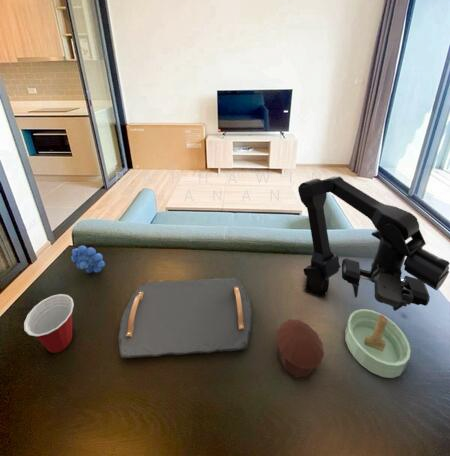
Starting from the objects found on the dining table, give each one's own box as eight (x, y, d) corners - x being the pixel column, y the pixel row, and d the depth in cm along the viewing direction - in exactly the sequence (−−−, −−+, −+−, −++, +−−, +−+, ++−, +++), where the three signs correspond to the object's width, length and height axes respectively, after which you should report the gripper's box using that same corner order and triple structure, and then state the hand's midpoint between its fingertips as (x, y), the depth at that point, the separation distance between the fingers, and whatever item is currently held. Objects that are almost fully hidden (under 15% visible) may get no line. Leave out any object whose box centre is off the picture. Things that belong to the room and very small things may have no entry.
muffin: (265, 352, 66) (268, 327, 62) (291, 327, 72) (295, 303, 68) (302, 397, 57) (308, 371, 53) (328, 364, 63) (335, 339, 60)
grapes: (68, 281, 87) (60, 254, 82) (79, 266, 93) (72, 241, 89) (100, 282, 86) (94, 255, 82) (109, 267, 93) (104, 241, 88)
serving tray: (245, 282, 86) (246, 269, 84) (258, 355, 65) (259, 340, 63) (134, 288, 84) (131, 275, 82) (108, 366, 62) (104, 351, 60)
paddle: (364, 346, 67) (373, 318, 63) (364, 339, 68) (372, 311, 64) (383, 353, 65) (393, 325, 61) (382, 346, 67) (392, 318, 63)
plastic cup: (32, 373, 61) (18, 342, 57) (39, 333, 70) (28, 304, 66) (82, 351, 66) (72, 321, 61) (83, 317, 75) (74, 288, 70)
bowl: (345, 363, 63) (349, 349, 61) (344, 315, 76) (347, 302, 74) (410, 390, 58) (417, 376, 56) (398, 333, 70) (403, 320, 68)
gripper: (348, 269, 57) (336, 315, 63) (448, 299, 50) (424, 347, 56) (347, 239, 67) (337, 281, 73) (431, 261, 60) (412, 306, 66)
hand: (374, 302), depth 66 cm, fingers open, 9 cm apart
